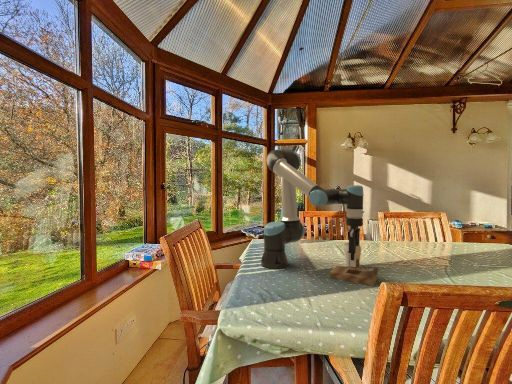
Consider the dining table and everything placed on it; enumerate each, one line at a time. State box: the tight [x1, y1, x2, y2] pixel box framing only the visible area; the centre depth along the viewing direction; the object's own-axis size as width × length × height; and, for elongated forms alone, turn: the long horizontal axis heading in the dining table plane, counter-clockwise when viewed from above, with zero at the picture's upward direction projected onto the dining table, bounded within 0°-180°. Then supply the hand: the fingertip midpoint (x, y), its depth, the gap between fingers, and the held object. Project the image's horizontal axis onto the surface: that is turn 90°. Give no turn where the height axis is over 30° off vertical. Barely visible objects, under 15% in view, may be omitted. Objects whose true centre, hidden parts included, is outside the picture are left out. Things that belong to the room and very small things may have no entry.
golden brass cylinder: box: [349, 245, 361, 269], centre depth 139 cm, size 5×5×10 cm
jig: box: [329, 265, 379, 287], centre depth 140 cm, size 20×12×5 cm, turn 59°
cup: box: [343, 242, 362, 267], centre depth 159 cm, size 9×9×12 cm
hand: (354, 264), depth 140 cm, fingers closed on golden brass cylinder, 5 cm apart
